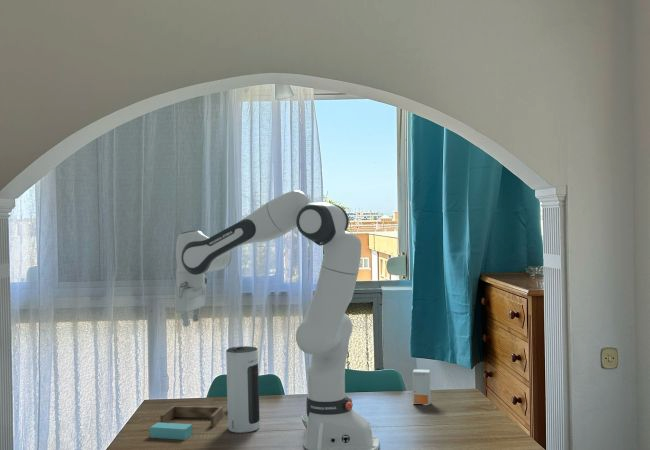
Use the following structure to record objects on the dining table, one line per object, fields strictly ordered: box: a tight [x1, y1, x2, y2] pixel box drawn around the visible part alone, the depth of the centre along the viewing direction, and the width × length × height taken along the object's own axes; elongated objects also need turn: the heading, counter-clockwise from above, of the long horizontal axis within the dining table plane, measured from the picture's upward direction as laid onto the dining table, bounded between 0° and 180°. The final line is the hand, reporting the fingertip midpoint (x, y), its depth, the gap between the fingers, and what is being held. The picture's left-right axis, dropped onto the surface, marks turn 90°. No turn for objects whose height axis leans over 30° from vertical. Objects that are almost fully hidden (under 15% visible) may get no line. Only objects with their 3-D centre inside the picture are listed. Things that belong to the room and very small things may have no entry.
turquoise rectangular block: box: [149, 421, 194, 441], centre depth 203 cm, size 12×5×4 cm, turn 76°
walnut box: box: [160, 405, 224, 428], centre depth 217 cm, size 18×11×4 cm, turn 83°
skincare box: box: [412, 368, 432, 405], centre depth 233 cm, size 6×4×12 cm
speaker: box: [225, 345, 261, 434], centre depth 209 cm, size 11×10×26 cm
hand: (191, 323), depth 209 cm, fingers open, 8 cm apart
